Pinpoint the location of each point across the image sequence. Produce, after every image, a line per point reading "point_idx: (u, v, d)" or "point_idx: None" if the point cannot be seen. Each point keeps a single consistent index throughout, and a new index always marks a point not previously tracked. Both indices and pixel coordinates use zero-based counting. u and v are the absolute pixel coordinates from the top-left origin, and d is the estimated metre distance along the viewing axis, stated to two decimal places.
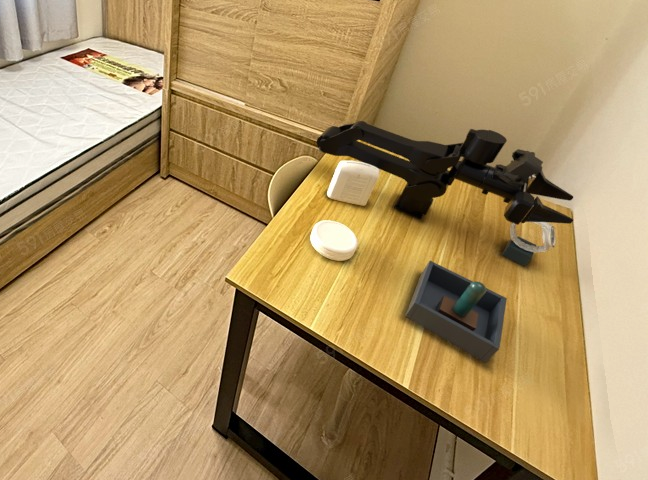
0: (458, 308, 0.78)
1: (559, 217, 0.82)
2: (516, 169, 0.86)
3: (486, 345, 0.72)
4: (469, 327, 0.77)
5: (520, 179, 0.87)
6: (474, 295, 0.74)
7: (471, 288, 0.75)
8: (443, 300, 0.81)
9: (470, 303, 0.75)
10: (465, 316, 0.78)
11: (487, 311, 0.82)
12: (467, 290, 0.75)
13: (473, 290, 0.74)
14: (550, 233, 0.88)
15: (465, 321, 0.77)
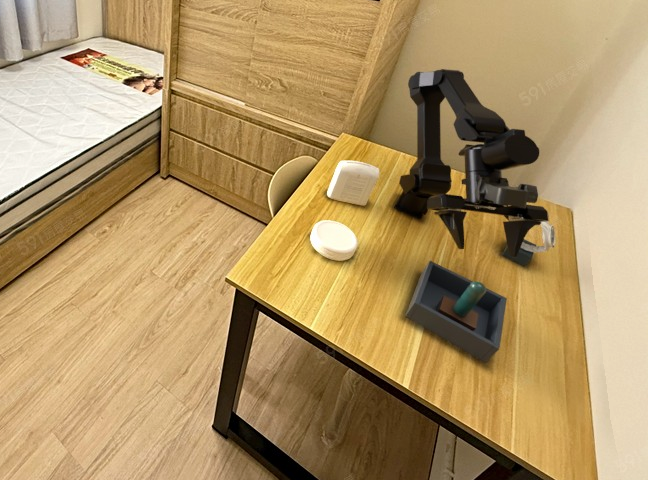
0: (458, 308, 0.78)
1: (457, 237, 0.79)
2: (491, 187, 0.75)
3: (486, 345, 0.72)
4: (469, 327, 0.77)
5: (485, 196, 0.77)
6: (474, 295, 0.74)
7: (471, 288, 0.75)
8: (443, 300, 0.81)
9: (470, 303, 0.75)
10: (465, 316, 0.78)
11: (487, 311, 0.82)
12: (467, 290, 0.75)
13: (473, 290, 0.74)
14: (550, 233, 0.88)
15: (465, 321, 0.77)
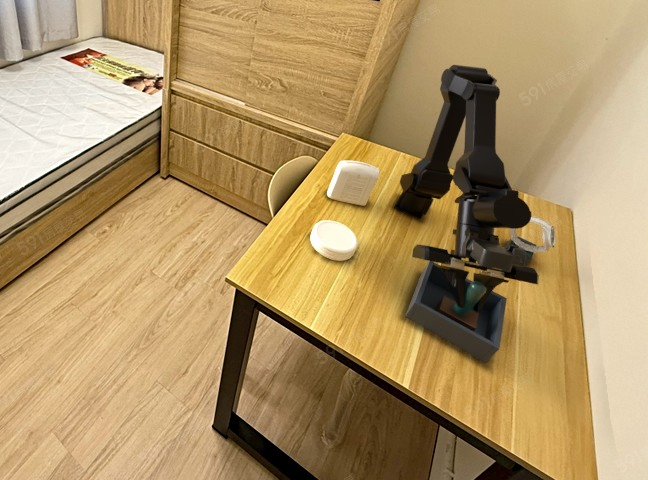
0: (458, 308, 0.78)
1: (458, 295, 0.77)
2: (477, 245, 0.73)
3: (486, 345, 0.72)
4: (469, 327, 0.77)
5: (470, 253, 0.75)
6: (474, 295, 0.74)
7: (471, 288, 0.75)
8: (443, 300, 0.81)
9: (470, 303, 0.75)
10: (465, 316, 0.78)
11: (487, 311, 0.82)
12: (467, 290, 0.75)
13: (473, 290, 0.74)
14: (550, 233, 0.88)
15: (465, 321, 0.77)
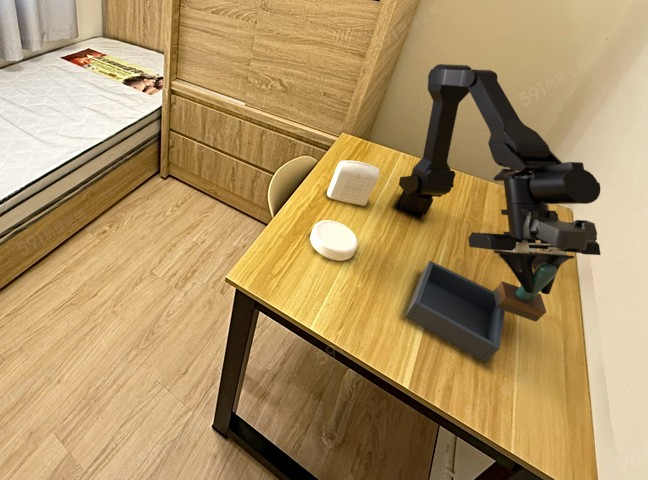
0: (525, 293, 0.73)
1: (525, 280, 0.72)
2: (545, 226, 0.68)
3: (486, 345, 0.72)
4: (539, 311, 0.72)
5: (536, 234, 0.70)
6: (545, 278, 0.69)
7: (541, 271, 0.70)
8: (504, 287, 0.75)
9: (540, 287, 0.71)
10: (531, 300, 0.73)
11: (487, 311, 0.82)
12: (536, 274, 0.70)
13: (545, 273, 0.69)
14: None
15: (534, 306, 0.72)
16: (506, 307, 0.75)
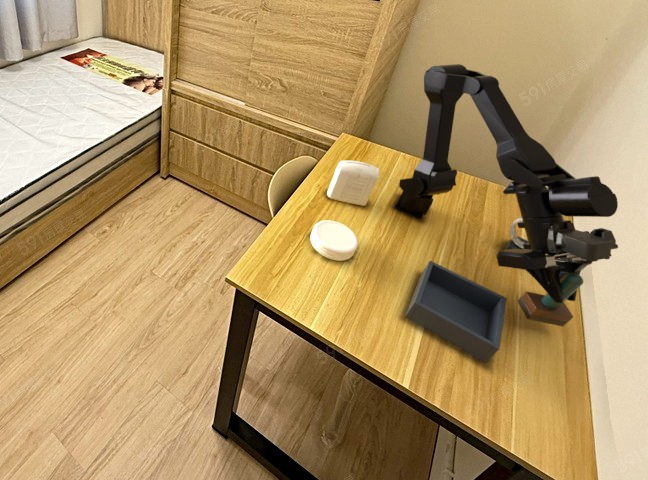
0: (553, 302, 0.75)
1: (554, 291, 0.74)
2: (572, 240, 0.70)
3: (486, 345, 0.72)
4: (566, 317, 0.75)
5: (562, 248, 0.72)
6: (574, 288, 0.72)
7: (569, 282, 0.72)
8: (531, 297, 0.78)
9: (568, 296, 0.73)
10: (558, 307, 0.76)
11: (487, 311, 0.82)
12: (564, 284, 0.73)
13: (573, 283, 0.72)
14: None
15: (561, 313, 0.75)
16: (536, 317, 0.77)
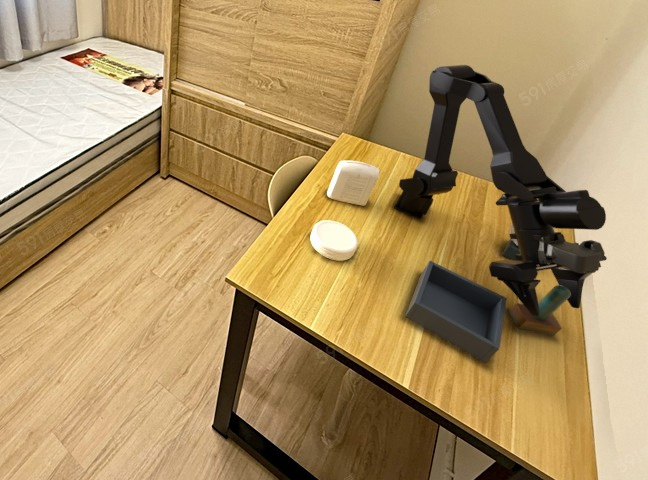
0: (542, 314, 0.77)
1: (531, 304, 0.75)
2: (562, 252, 0.72)
3: (486, 345, 0.72)
4: (555, 328, 0.77)
5: (552, 259, 0.74)
6: (561, 301, 0.74)
7: (557, 295, 0.74)
8: (520, 309, 0.80)
9: (556, 308, 0.76)
10: (546, 318, 0.78)
11: (487, 311, 0.82)
12: (552, 297, 0.75)
13: (561, 296, 0.74)
14: None
15: (550, 324, 0.77)
16: (526, 328, 0.79)
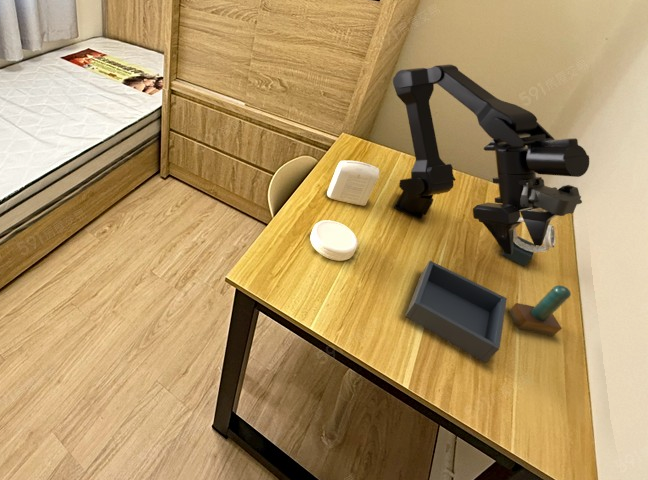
0: (542, 314, 0.77)
1: (506, 244, 0.79)
2: (545, 196, 0.75)
3: (486, 345, 0.72)
4: (555, 328, 0.77)
5: (534, 203, 0.77)
6: (561, 301, 0.74)
7: (557, 295, 0.74)
8: (520, 309, 0.80)
9: (556, 308, 0.76)
10: (546, 318, 0.78)
11: (487, 311, 0.82)
12: (552, 297, 0.75)
13: (561, 296, 0.74)
14: (550, 233, 0.88)
15: (550, 324, 0.77)
16: (526, 328, 0.79)
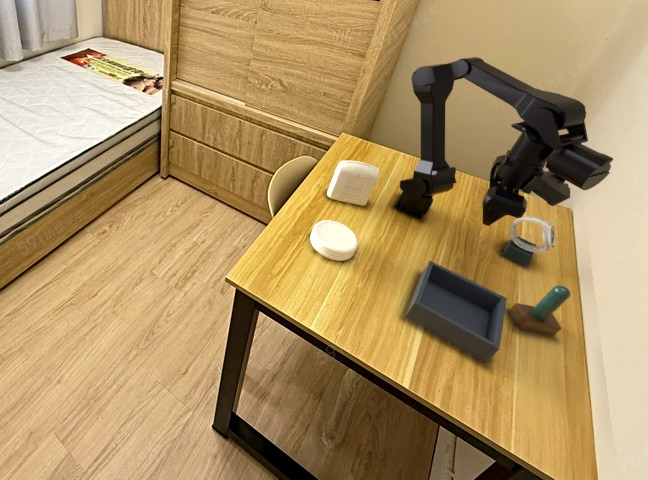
0: (542, 314, 0.77)
1: (491, 219, 0.84)
2: (553, 190, 0.77)
3: (486, 345, 0.72)
4: (555, 328, 0.77)
5: (535, 191, 0.79)
6: (561, 301, 0.74)
7: (557, 295, 0.74)
8: (520, 309, 0.80)
9: (556, 308, 0.76)
10: (546, 318, 0.78)
11: (487, 311, 0.82)
12: (552, 297, 0.75)
13: (561, 296, 0.74)
14: (550, 233, 0.88)
15: (550, 324, 0.77)
16: (526, 328, 0.79)
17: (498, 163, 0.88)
